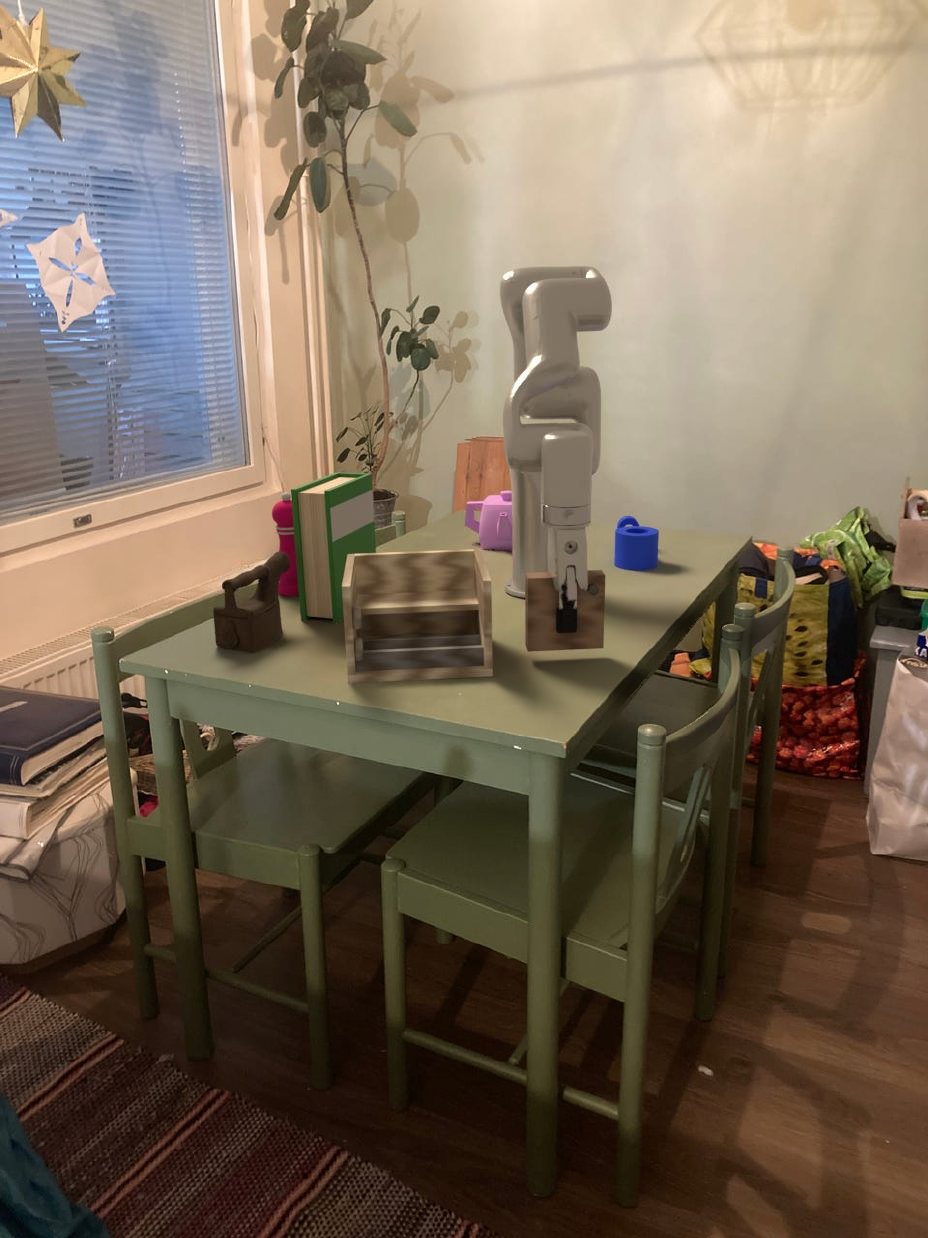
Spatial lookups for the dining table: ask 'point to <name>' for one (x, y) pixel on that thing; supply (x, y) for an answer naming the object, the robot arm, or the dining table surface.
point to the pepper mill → (286, 544)
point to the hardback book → (330, 537)
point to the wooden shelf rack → (417, 615)
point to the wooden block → (543, 614)
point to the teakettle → (492, 521)
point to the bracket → (635, 545)
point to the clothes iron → (252, 608)
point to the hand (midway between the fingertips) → (564, 627)
